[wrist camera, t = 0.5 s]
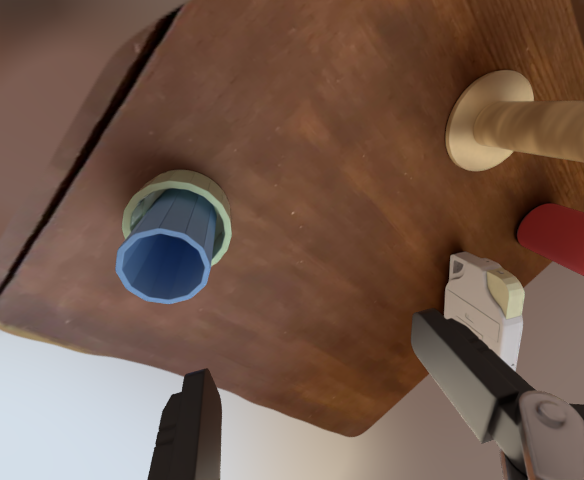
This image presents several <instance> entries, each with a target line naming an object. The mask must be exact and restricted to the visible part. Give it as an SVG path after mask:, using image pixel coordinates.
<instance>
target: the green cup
mask: <svg viewBox="0 0 584 480" xmlns="http://www.w3.org/2000/svg"><path fill="white" fill-rule="evenodd" d="M172 188H176V189H185V190H190V191H192V192H194V193H197V194H199V195H201V196H203V197H205V198H206V199H207V200H208V201H209V202H210V203H212V204H213V206H214V209H215V212H216V215H217V219H216V227H215V236H214V244H213V253H212V262H211V266H212V265H214V264H216V263H217V262H218V261H219V260H220V259H221V258H222V256H223V255H224V254H225V252H226V251H227V249H228V247H229V243H230V240H231V236H232V219H231V208H230V204H229V201H228V199H227V197H226V195H225V193H224V192H223V190H222V189H221V188H220V187H219V186H218V185H217V184H216V183H215V182H214V181H213V180H211V179H210V178H208V177H207V176H205V175H203V174H200V173H197V172H194V171H190V170H172V171H167V172H164V173H162V174H159V175H157V176H156V177H154V178H153V179H152V180H150V181H149V182H147V183H146V184H145V185H144V186H143V187H142V188H141V189H140V190H139V191H138V192H137V193H136V194H135V195H134V196H133V197H132V198H131V200H130V202H129V203H128V205H127V206H126V208H125V209H124V213H123V221H122V230H123V233H124V237H125V240H126V238H127V237H128V236H129V234H130V233H131V232H132V230H133V229H134V228H135V227H136V225H137V224H138V223H139V221H140V220H141V219H142V217H143V216H144V215H145V214H146V212H147V211H148V210H149V208H150V207H151V206H152V204H153V203H154V202H155V200H156V199H157V198H158V197H159V196H160V195H161V194H162V193H163V192H164V191H166V190H167V189H172Z"/></svg>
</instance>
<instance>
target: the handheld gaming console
mask: <svg viewBox="0 0 584 480" xmlns="http://www.w3.org/2000/svg"><path fill="white" fill-rule="evenodd" d="M524 296H525V293H524V289H523V287H522V285H521V283H520V282H519V281H518V279H517V278H516V277H515V276H514V275H512V274H511V273H509V272H508V271H506V270H504V269H503V268H502V267H501V266H500V265H499V264H498V263H496V262H494V261H492V260H489V259H487V258H483V259H481V258H479V257H477V256H474V255H472V254H470V253H468V252H461V253H456V254H452V255H451V256H450V272H449V282H448V283H447V286H446V288H445V306H444V317H445V318H446V319H449V318H453V319H454V320H456V321H458V322H460V323H462V324H464V325H466V326H467V327H468V328H469V329H470V330H471V331H472V332H473V333H475V334H476V335H477V336H478V338H479V339H481V340H482V341H483V342H484V343H485V344H486V345H487V346H488V348H489V349H492V350H493V351H494V352H495V353H496V354H497V355H498V356H499V357H500V358H501V359H502V360H503V361H504V362H506V363H507V364H508V365H509V366H510V367H511V368H512V369H513V370H514V371H515V370H516V364H517V358H518V352H519V347H520V341H521V335H522V328H523V319H522V308H523V302H524Z"/></svg>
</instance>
